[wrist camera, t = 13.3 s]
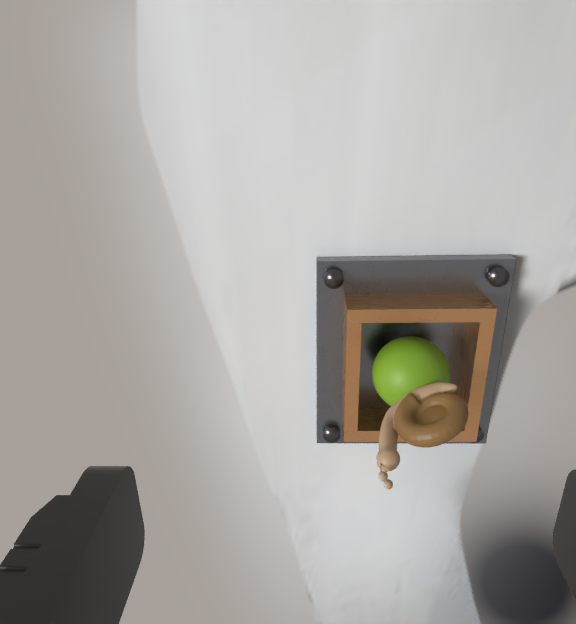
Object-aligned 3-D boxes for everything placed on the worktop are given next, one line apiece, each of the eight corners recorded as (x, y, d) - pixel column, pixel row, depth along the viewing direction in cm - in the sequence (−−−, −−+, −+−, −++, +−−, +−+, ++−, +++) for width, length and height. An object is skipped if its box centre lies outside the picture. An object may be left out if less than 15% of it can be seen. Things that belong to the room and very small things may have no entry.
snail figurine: (344, 349, 39) (359, 451, 28) (421, 311, 37) (469, 403, 26) (376, 401, 40) (402, 517, 29) (450, 367, 39) (507, 475, 28)
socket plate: (316, 256, 37) (317, 275, 33) (510, 254, 36) (533, 272, 32) (316, 435, 43) (317, 467, 39) (481, 435, 43) (498, 468, 39)
